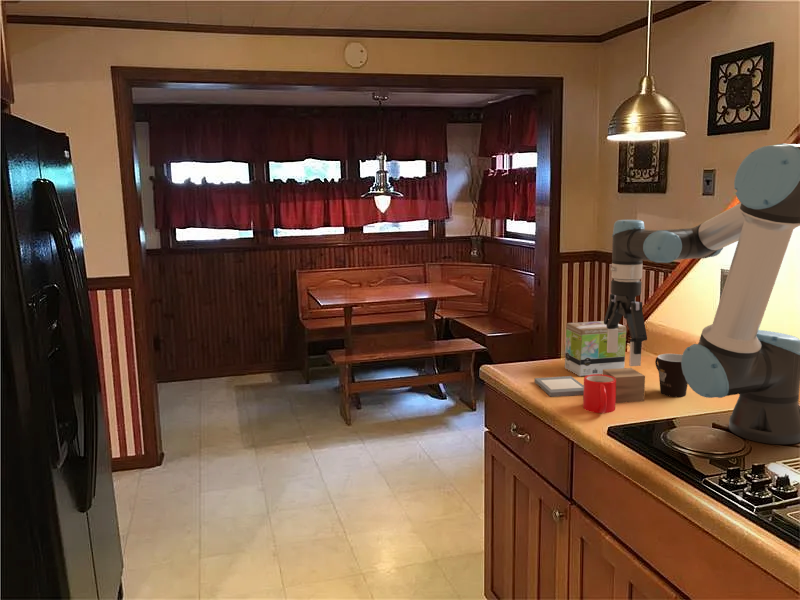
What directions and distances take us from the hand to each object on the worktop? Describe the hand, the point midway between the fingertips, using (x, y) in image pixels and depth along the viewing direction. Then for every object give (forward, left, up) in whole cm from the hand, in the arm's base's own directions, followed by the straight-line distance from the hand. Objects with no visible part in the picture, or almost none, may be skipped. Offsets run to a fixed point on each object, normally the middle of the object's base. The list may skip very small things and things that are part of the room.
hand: (623, 358), depth 176 cm
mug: (-9, +10, -11) cm, 17 cm away
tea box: (+26, -3, -11) cm, 28 cm away
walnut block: (0, 0, -11) cm, 11 cm away
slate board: (+11, +13, -11) cm, 20 cm away
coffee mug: (+2, -15, -11) cm, 19 cm away
